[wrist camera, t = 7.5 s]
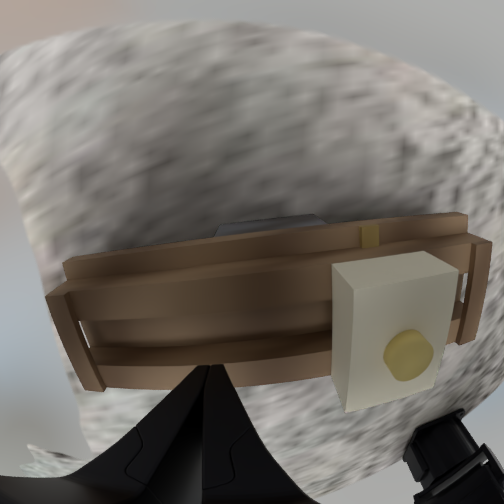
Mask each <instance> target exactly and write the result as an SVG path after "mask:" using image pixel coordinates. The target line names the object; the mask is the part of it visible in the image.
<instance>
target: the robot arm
mask: <svg viewBox="0 0 504 504" xmlns="http://www.w3.org/2000/svg"><path fill="white" fill-rule="evenodd" d="M464 414H465V410H464V409H460V410H458V411H456V412H454V413H452V414H449V415H447V416H445V417H443V418H440V419H438V420H436V421H433V422H431V423H428V424H426V425H423V426H420V427H419V428H417V429H416V430H415V432H414V435H413V437H412V439H411V442H410V444H409V446H408V448H407V450H406V453H405V455H404V457H403V461H404V462H407V464H408V466H409V469H410V471H411V473H412V475H413V477H414V479H415V481H416V482H421V485H422V487H423V489H424V490H423V491H421V492H420V493H417V494H415V495H414V496H413V497H414V504H504V469H503V468H502V466H501V464H500V463H499V461H498V459H497V458H496V456H495V455H494V454H493V452H492V451H491V449H490V448H489V447H488V446H487V445H486V444H485V443H483V444H482V445H481V447H480V448H479V446H478V445H477V444H476V442H475V441H474V439H473V437H472V436H471V435H470V433H469V432H468V430H467V429H466V427H465V426H464V425H463V423H462V422H461V420H462V418H463V416H464ZM486 459H488V460H489V461H488V462H486V463H485V464H483V462H484V461H485V460H486ZM0 504H320V503H318V502H317V501H315V500H313V499H312V498H310V497H309V496H308V495H307V494H305V493H304V492H303V491H302V490H301V489H300V488H299V487H298V486H297V485H296V483H295V482H294V481H293V480H292V479H291V478H290V477H289V476H288V474H287V473H286V472H285V471H284V470H283V469H282V467H281V466H280V465H279V464H278V463H277V462H276V460H275V459H274V458H273V457H272V455H271V454H270V453H269V451H268V450H267V448H266V447H265V445H264V444H263V442H262V440H261V439H260V437H259V435H258V433H257V432H256V430H255V428H254V426H253V424H252V422H251V420H250V418H249V416H248V414H247V412H246V410H245V408H244V406H243V404H242V402H241V400H240V398H239V396H238V394H237V392H236V390H235V388H234V386H233V384H232V382H231V379H230V377H229V375H228V373H227V371H226V369H225V367H224V365H223V364H212V365H211V366H210V365H198V366H196V367H195V368H194V369H193V370H192V371H191V372H190V373H189V374H188V375H187V376H186V377H185V378H184V379H183V380H182V381H181V382H180V383H179V384H178V385H177V386H176V387H175V388H174V389H173V390H172V391H171V392H170V393H169V394H168V395H167V396H166V397H165V398H164V399H163V400H162V401H161V402H160V403H159V404H158V405H157V406H155V407H154V408H153V409H152V410H151V411H150V412H149V413H148V414H147V415H146V416H145V417H144V418H143V419H142V420H141V421H140V422H139V423H138V424H137V425H136V427H133V428H132V429H131V430H130V431H129V432H128V433H127V434H126V435H124V436H123V437H122V438H121V439H120V440H119V441H118V442H116V443H115V444H114V445H112V446H111V447H110V448H109V449H107V450H106V451H105V452H103V453H102V454H100V455H99V456H98V457H96V458H95V459H93V460H92V461H90V462H89V463H87V464H86V465H85V466H83V467H82V468H80V469H79V470H77V471H75V472H74V473H72V474H69V475H67V476H63V477H56V478H31V477H11V476H1V475H0Z"/></svg>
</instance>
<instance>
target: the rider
mask: <svg viewBox="0 0 504 504" xmlns="http://www.w3.org/2000/svg"><path fill="white" fill-rule="evenodd" d="M458 273H459V270H458V269H456V268H454V267H453V266H451V265H449V264H447V263H445V262H444V261H442V260H440V259H438V258H436V257H434V256H432V255H431V254H429V253H427V252H425V251H419V252H412V253H405V254H399V255H392V256H385V257H378V258H371V259H364V260H357V261H349V262H342V263H334V264H332V365H331V377H332V379H333V382H334V385H335V387H336V390H337V393H338V395H339V398H340V401H341V404H342V406H343V409H344V412H345V413H349V412H353V411H358V410H362V409H366V408H370V407H374V406H377V405H381V404H384V403H388V402H391V401H395V400H398V399H401V398H404V397H407V396H411V395H414V394H416V393H419V392H422V391H425V390H428V389H431V388H433V387H434V384H435V381H436V378H437V374H438V371H439V368H440V364H441V360H442V357H443V353H444V349H445V345H446V341H447V337H448V332H449V328H450V323H451V318H452V313H453V307H454V301H455V295H456V288H457V281H458Z"/></svg>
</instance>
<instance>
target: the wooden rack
mask: <svg viewBox="0 0 504 504" xmlns="http://www.w3.org/2000/svg"><path fill="white" fill-rule="evenodd" d="M467 229H468V215H466V214H462V213H459V212H449V213H437V214H426V215H414V216H403V217H393V218H382V219H372V220H362V221H352V222H342V223H333V224H327V223H326V222H324V221H323V220H321V219H320V218H318V217H317V216H315V215H314V214H309V215H300V216H290V217H281V218H272V219H264V220H255V221H247V222H239V223H231V224H223V225H220V226H219V228H218V230H217V232H216V234H215V236H214V237H212V238H204V239H196V240H189V241H181V242H174V243H166V244H159V245H151V246H144V247H137V248H130V249H123V250H116V251H109V252H102V253H95V254H89V255H82V256H75V257H72V258H70V259H68V260H66V261H65V262H63V263H62V264H63V268H64V271H65V275H66V278H67V281H66V282H64V283H63V284H61V285H60V286H59V287H57V288H56V289H54V290H53V291H52V292H50V293H49V294H47V295H46V296H45V299H46V302H47V304H48V307H49V310H50V313H51V316H52V318H53V321H54V324H55V326H56V329H57V331H58V334H59V336H60V339H61V341H62V343H63V346H64V348H65V350H66V353H67V355H68V357H69V359H70V361H71V363H72V366H73V368H74V370H75V372H76V374H77V376H78V378H79V380H80V382H81V384H82V386H83V388H84V389H85V390H88V391H97V392H104V391H105V389H106V387H110V388H125V389H150V390H173V389H174V388H175V387H176V386H177V385H178V384H179V383H180V382H181V381H182V380H183V379H184V378H185V377H186V376H187V375H188V374H189V373H190V372H191V371H192V370H193V369H194V368H195V367H196V366H198V365H210V366H211V365H212V364H223V365H224V367H225V369H226V371H227V373H228V375H229V377H230V379H231V382H232V384H233V386H234V387H246V386H257V385H267V384H275V383H283V382H291V381H298V380H304V379H311V378H317V377H323V376H328V375H331V365H332V264H334V263H342V262H349V261H357V260H364V259H371V258H378V257H385V256H392V255H399V254H405V253H412V252H419V251H425V252H427V253H429V254H431V255H432V256H434V257H436V258H438V259H440V260H442V261H444V262H445V263H447V264H449V265H451V266H453V267H454V268H456V269H458V270H459V273H458V281H457V288H456V295H455V301H454V307H453V313H452V318H451V323H450V328H449V332H448V337H447V341H446V345H447V344H450V343H453V342H456V343H457V344H458V345H462V344H465V343H467V342H470V341H472V340H475V337H476V333H477V329H478V325H479V321H480V317H481V313H482V308H483V303H484V298H485V293H486V288H487V282H488V275H489V268H490V261H491V252H492V242H491V241H488V240H485V239H483V238H480V237H478V236H475V235H472V234H470V233H467ZM464 273H468V279H467V286H466V292H465V298H464V303H462V302H461V301H460V296H461V289H462V283H463V275H464ZM78 321H80V322H81V324H82V327H83V330H84V332H85V335H86V337H87V340H88V343H89V345H90V348H89V347H88V345H87V343H86V340H85V338H84V335H83V332H82V330H81V327H80V324H79V322H78Z"/></svg>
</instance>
